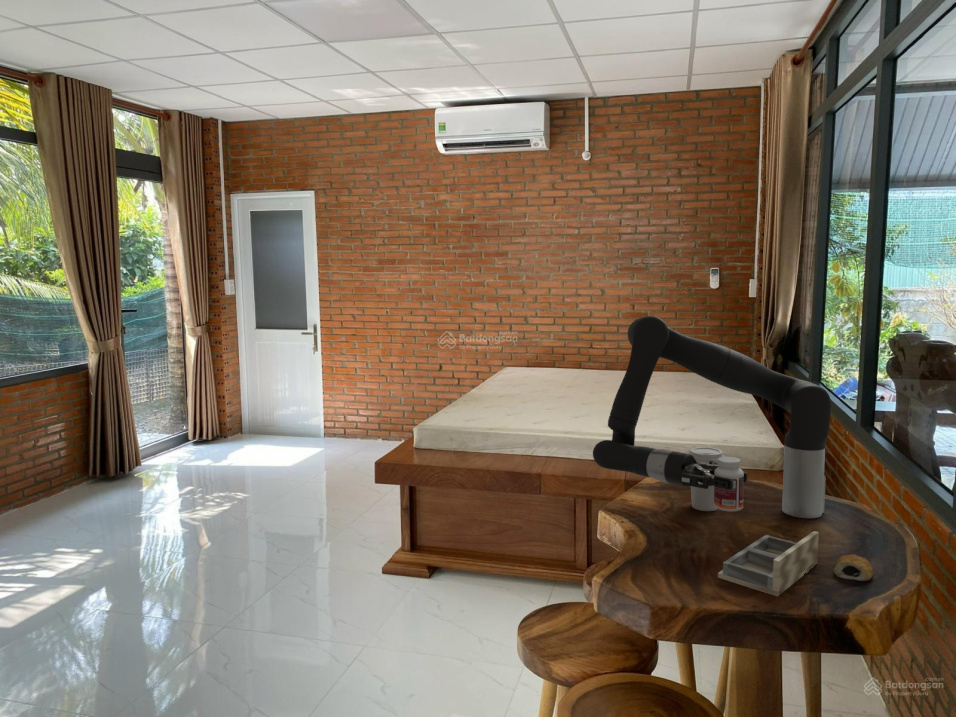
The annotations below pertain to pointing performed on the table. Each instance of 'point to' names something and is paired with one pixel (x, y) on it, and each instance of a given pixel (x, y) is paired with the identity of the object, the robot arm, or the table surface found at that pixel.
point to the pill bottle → (735, 496)
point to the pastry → (853, 568)
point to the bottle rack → (772, 563)
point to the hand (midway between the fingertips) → (739, 481)
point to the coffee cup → (705, 497)
